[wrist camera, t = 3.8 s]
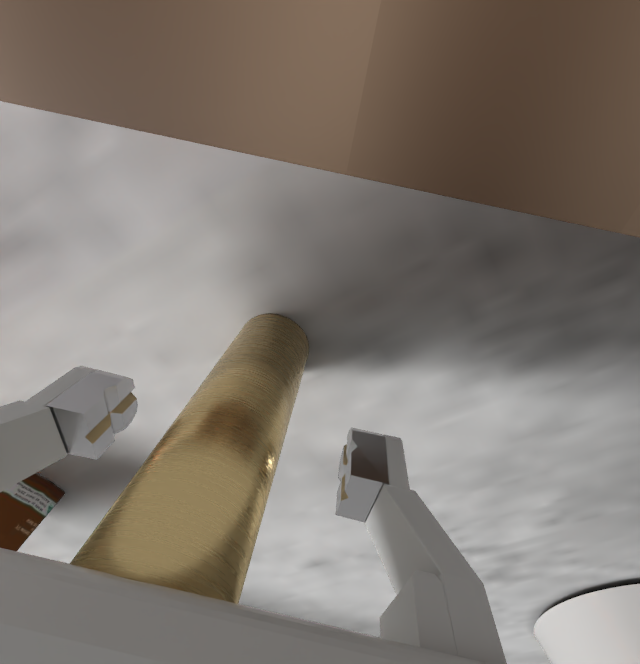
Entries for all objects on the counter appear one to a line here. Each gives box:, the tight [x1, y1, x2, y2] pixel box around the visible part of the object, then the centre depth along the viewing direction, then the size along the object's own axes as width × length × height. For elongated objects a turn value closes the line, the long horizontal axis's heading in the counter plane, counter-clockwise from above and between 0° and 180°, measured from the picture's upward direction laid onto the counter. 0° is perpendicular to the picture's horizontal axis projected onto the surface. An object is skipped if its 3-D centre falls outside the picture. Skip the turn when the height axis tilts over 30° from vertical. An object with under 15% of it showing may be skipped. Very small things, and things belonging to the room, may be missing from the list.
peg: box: [70, 314, 309, 604], centre depth 8 cm, size 3×3×10 cm
